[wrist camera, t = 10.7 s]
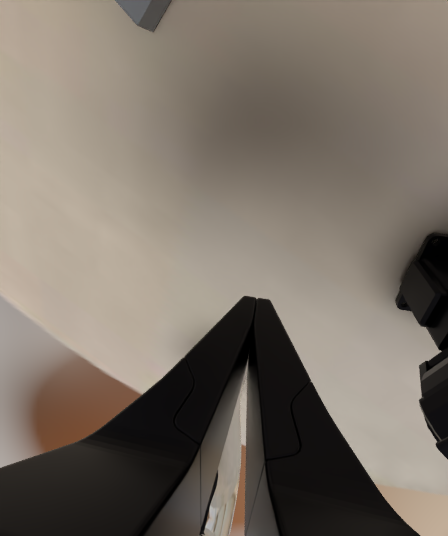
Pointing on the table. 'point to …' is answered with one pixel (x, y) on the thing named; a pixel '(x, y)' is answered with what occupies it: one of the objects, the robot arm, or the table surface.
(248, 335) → the robot arm
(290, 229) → the table surface
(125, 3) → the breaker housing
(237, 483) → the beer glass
